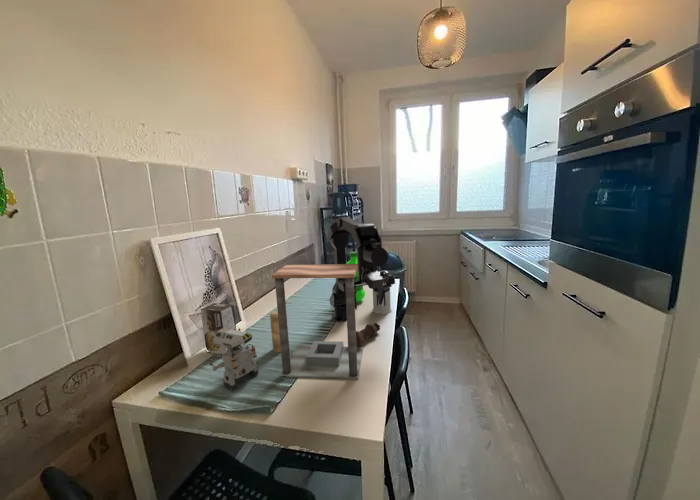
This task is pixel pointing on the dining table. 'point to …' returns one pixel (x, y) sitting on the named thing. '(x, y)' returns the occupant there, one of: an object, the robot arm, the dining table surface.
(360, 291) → the plastic bottle
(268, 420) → the dining table surface
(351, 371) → the post and lintel frame
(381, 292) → the robot arm
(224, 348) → the coffee box
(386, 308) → the glass holder
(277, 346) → the peg
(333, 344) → the socket
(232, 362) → the figurine
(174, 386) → the dining table surface
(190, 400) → the dining table surface
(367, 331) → the bolt
